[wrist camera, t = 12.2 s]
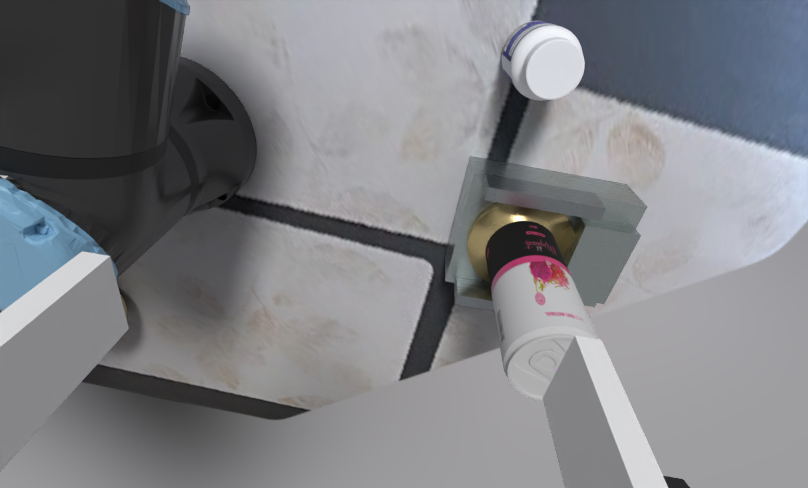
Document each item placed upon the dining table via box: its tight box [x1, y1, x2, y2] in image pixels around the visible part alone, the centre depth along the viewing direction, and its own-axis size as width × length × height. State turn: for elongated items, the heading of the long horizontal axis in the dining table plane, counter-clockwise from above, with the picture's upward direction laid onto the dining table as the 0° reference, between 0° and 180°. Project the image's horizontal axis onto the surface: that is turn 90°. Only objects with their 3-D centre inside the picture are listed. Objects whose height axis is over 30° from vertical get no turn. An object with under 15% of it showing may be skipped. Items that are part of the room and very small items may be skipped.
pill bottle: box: [501, 21, 584, 101], centre depth 33 cm, size 5×5×9 cm
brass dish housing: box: [445, 156, 647, 311], centre depth 42 cm, size 16×13×8 cm
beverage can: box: [485, 221, 599, 401], centre depth 34 cm, size 7×6×15 cm
